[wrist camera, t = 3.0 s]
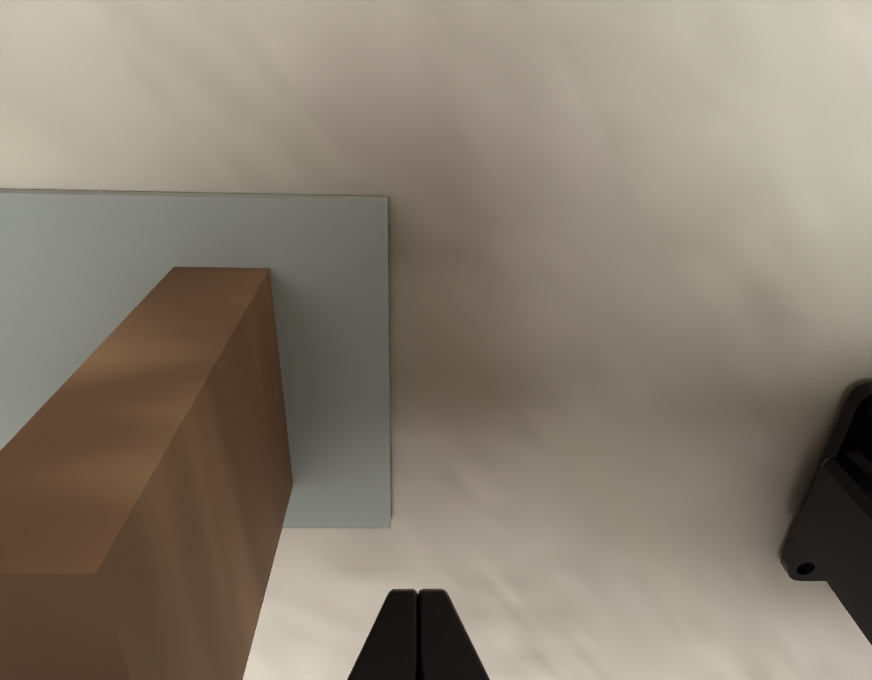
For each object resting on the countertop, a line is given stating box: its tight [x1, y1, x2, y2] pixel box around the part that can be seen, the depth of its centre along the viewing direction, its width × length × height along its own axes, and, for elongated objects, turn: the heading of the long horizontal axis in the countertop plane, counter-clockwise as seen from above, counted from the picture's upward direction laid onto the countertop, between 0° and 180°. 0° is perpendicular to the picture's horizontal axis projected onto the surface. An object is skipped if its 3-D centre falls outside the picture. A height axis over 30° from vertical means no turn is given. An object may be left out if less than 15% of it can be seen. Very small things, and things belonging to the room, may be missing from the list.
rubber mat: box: [0, 189, 391, 528], centre depth 14 cm, size 15×9×1 cm, turn 88°
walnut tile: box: [0, 267, 293, 680], centre depth 11 cm, size 2×6×8 cm, turn 179°
